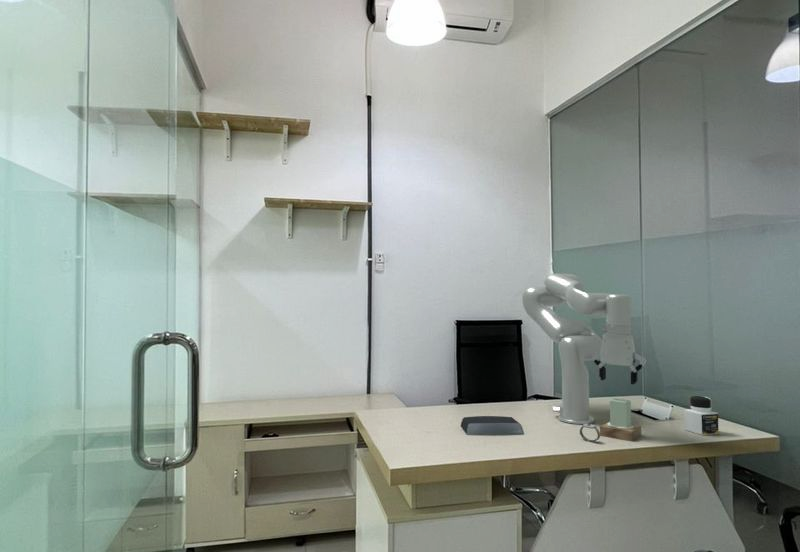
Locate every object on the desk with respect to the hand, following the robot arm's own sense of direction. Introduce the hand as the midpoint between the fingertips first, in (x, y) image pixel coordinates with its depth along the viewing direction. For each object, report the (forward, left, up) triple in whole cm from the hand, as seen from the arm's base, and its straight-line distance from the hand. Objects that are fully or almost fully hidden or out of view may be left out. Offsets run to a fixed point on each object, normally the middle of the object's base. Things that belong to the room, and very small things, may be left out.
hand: (617, 381), depth 160 cm
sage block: (+1, 0, -14) cm, 14 cm away
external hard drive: (-34, -25, -18) cm, 46 cm away
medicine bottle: (+20, +24, -18) cm, 36 cm away
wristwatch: (-4, -14, -18) cm, 23 cm away
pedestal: (+1, 0, -18) cm, 18 cm away
